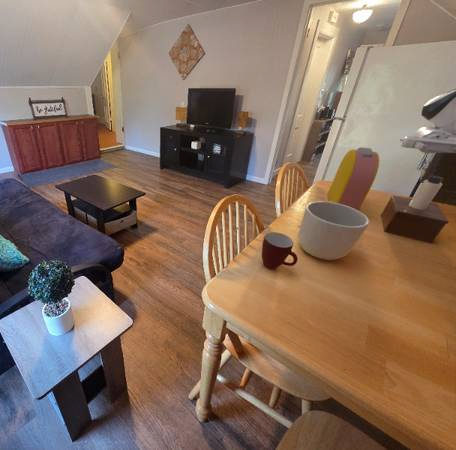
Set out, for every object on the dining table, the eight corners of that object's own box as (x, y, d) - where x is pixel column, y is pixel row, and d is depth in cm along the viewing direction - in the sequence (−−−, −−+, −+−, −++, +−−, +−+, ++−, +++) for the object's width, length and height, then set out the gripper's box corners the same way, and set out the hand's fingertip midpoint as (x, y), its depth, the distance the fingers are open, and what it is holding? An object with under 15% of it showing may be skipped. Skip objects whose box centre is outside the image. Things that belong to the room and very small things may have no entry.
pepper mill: (421, 205, 94) (441, 175, 88) (428, 210, 90) (449, 180, 84) (406, 203, 95) (424, 173, 89) (412, 208, 92) (431, 178, 85)
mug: (294, 265, 78) (304, 240, 73) (290, 280, 73) (300, 254, 67) (260, 253, 83) (268, 229, 78) (254, 266, 78) (261, 241, 72)
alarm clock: (356, 216, 106) (387, 156, 92) (331, 212, 109) (358, 153, 95) (348, 197, 122) (373, 143, 108) (327, 194, 125) (349, 141, 111)
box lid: (447, 224, 84) (448, 221, 83) (396, 213, 90) (397, 211, 90) (435, 205, 95) (436, 203, 95) (391, 197, 102) (392, 195, 101)
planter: (347, 274, 75) (371, 233, 67) (288, 254, 83) (302, 216, 75) (348, 247, 87) (368, 210, 79) (296, 232, 95) (309, 196, 87)
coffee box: (431, 243, 89) (446, 223, 85) (384, 231, 96) (396, 212, 91) (422, 224, 100) (435, 205, 95) (380, 215, 107) (391, 197, 102)
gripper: (403, 130, 104) (408, 136, 94) (472, 136, 94) (486, 143, 85) (395, 145, 107) (400, 153, 98) (461, 153, 98) (474, 161, 88)
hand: (440, 148), depth 91 cm, fingers open, 8 cm apart
